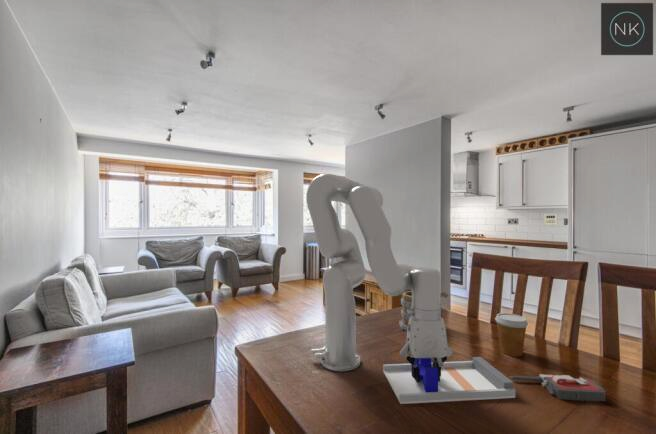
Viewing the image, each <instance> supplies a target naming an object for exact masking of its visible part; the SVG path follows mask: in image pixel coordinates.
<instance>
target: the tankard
mask: <svg viewBox="0 0 656 434" xmlns="http://www.w3.org/2000/svg"><path fill="white" fill-rule="evenodd" d="M401 295H402V296H401V298H400V305H402V308H401V309H400V316H401V317H402V318H401V320H399V321H398V325H399V326H400V328H401V329H402V330H403V329H404V331H406V330H407V329H408V323H409V318H410V316H412V315H410V314H407V309H411V306H412V290H406V291H405V292H403V293H402V294H401ZM448 296H449V294H448V293H446V292H444V291H441V296H440V297H441V298H442V297H443V298H446V299H448ZM443 312H444V311H443V308H442V307H441V318H443V317H444V316H443V315H444V313H443Z"/></svg>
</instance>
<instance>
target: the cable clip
mask: <svg viewBox="0 0 656 434" xmlns="http://www.w3.org/2000/svg"><path fill="white" fill-rule="evenodd" d="M432 362H433V361H432V358H420V359H419V363H418V367H419V368H420V381H423V385H424V388H425V392H438V369H437V368H432Z"/></svg>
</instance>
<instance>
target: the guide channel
mask: <svg viewBox="0 0 656 434" xmlns="http://www.w3.org/2000/svg"><path fill="white" fill-rule="evenodd" d="M431 362H432V363H433V362H434V361H431ZM382 367H383V368H382V370H383V374H384V376H385V377H386V379H387V381H388V383H389V385H390V387H391V389H392V391H393V392H394V395H395V397H396V399H397V400H398V402H399V404H400V405H405V404H407V405H408V404H422V403H423V404H427V403H444V402H463V401H480V400H499V399H500V400H501V399H516V389H515V388H514V381H513V380H512V379H511V378H509V377H507V376H506V375H504V374H503V373H502V372H501V371H499V370H498V369H497V368H495V367H494V366H493V365H492V364H490V363H489V362H488V361H487V360H485V359H484V358H482V357H481V356H473V357H472V360H463V361H462V360H461V361H459V360H458V361H445V362H444V363H443V366H442V367H441V377H440V382H438V392H425V388H424V385H423V381H420V382H419V383H417V382H416V381H415V379H414V378H413V377H412V365H411V364H410V363H409V362H408V363H388V364H386V363H385V364H383V365H382Z"/></svg>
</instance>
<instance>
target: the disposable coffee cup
mask: <svg viewBox="0 0 656 434" xmlns="http://www.w3.org/2000/svg"><path fill="white" fill-rule="evenodd" d="M494 320H495V322H496V325H497V333H498V334H497V335H498V340H499V341H498V342H499V348H500V352H501V353H503V354H505V355H507V356H511V357H521V356H523V350H524V344H525V338H526V337H525V336H526V331H527V327H528V325H529V322H528V320H527V318H526V317H524V316H522V315H519V314H514V313H507V312H499V313H497V314H496V317H495V318H494Z"/></svg>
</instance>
